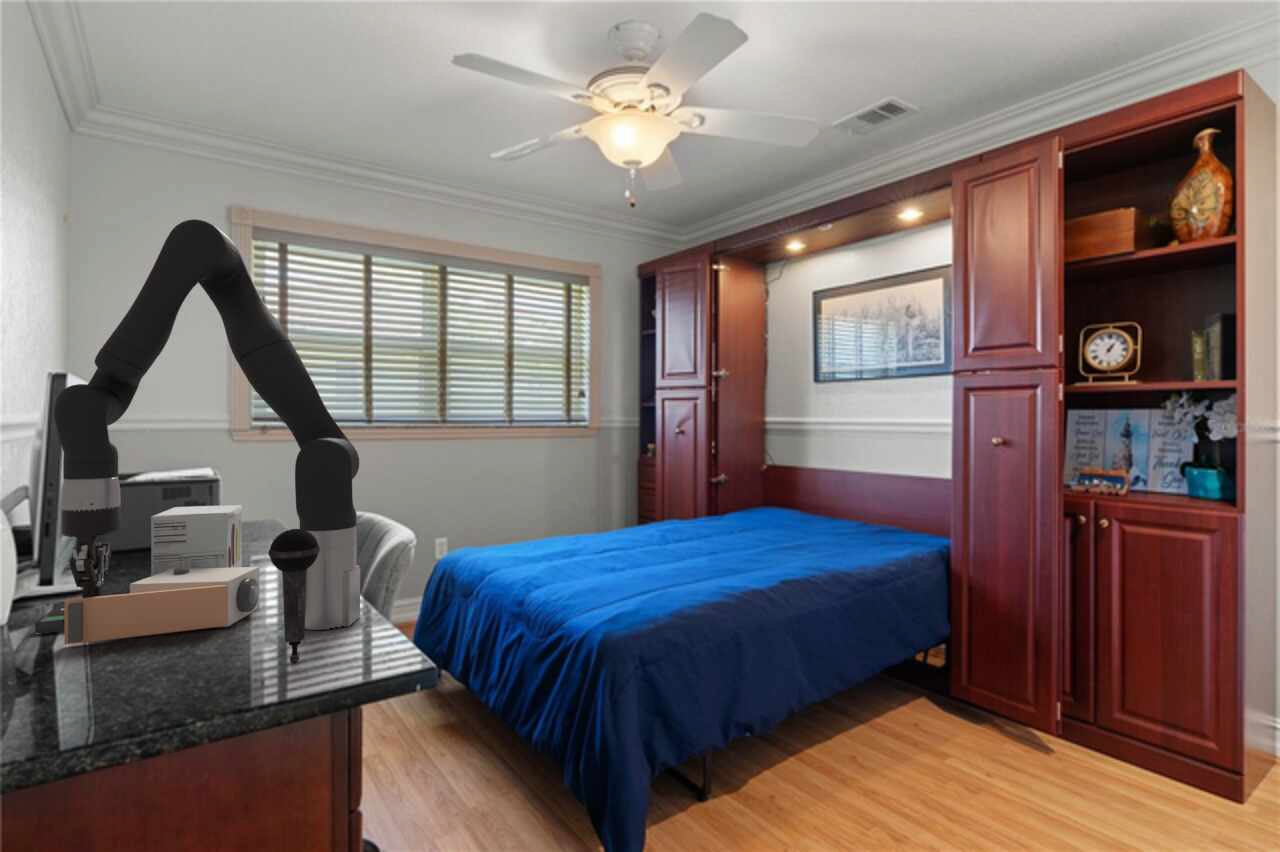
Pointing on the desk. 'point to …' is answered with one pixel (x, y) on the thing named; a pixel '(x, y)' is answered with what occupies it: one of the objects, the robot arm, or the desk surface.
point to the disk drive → (52, 621)
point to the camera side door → (144, 613)
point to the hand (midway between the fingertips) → (92, 609)
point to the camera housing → (237, 579)
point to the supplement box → (196, 538)
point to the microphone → (294, 579)
